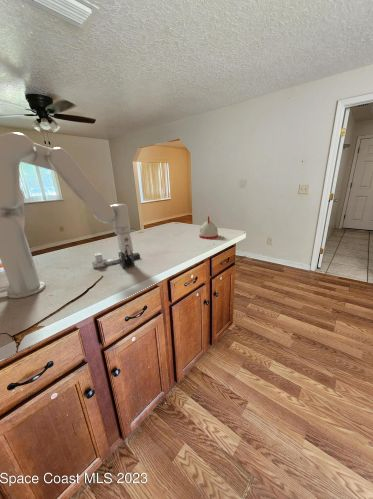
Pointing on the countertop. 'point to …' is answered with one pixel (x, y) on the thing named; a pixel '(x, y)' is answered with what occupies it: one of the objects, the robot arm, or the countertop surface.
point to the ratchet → (103, 262)
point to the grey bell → (208, 230)
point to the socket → (122, 259)
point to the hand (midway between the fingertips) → (127, 263)
